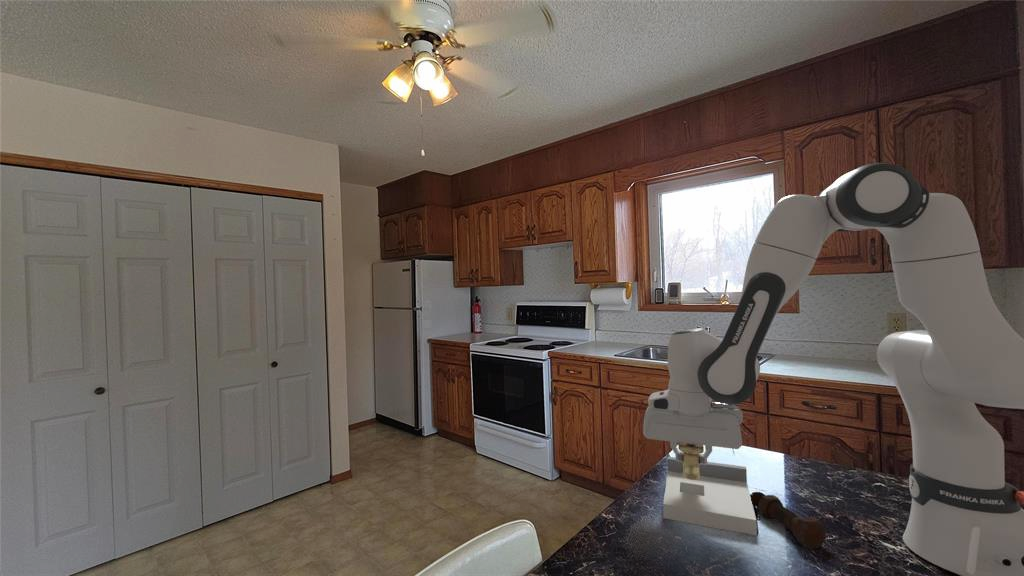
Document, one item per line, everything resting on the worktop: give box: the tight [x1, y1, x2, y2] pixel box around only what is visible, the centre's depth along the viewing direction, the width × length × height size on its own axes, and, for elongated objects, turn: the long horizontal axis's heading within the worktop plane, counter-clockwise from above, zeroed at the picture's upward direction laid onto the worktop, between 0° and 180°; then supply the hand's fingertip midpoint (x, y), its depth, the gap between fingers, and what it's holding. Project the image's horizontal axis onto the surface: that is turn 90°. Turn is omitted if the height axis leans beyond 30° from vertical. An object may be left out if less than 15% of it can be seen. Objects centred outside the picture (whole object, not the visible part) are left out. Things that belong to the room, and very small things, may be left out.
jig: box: [662, 456, 758, 537], centre depth 92 cm, size 17×18×6 cm
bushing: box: [677, 442, 705, 480], centre depth 93 cm, size 5×5×7 cm
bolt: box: [750, 491, 827, 550], centre depth 84 cm, size 6×5×15 cm
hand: (691, 462), depth 93 cm, fingers closed on bushing, 4 cm apart
